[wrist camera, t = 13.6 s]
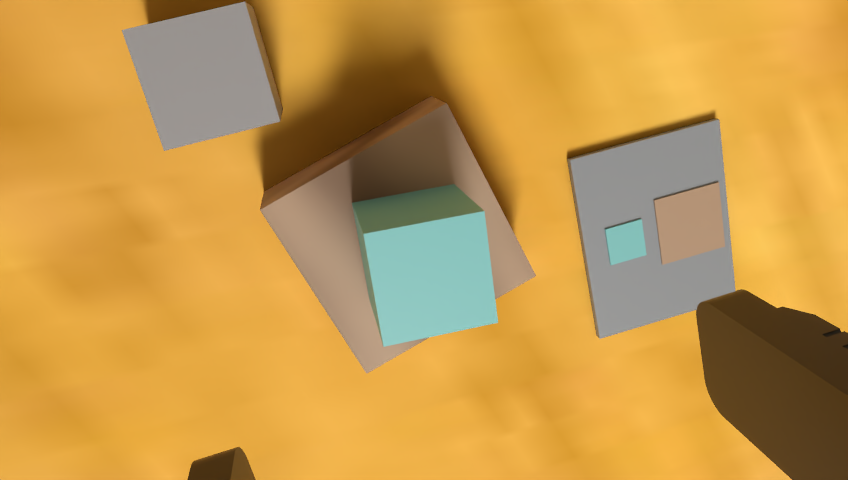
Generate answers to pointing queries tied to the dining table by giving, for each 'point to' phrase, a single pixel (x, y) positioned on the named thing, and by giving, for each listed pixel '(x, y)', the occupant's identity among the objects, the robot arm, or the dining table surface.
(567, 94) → the dining table surface
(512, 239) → the walnut base block
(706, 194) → the card
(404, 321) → the teal block
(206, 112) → the gray block
